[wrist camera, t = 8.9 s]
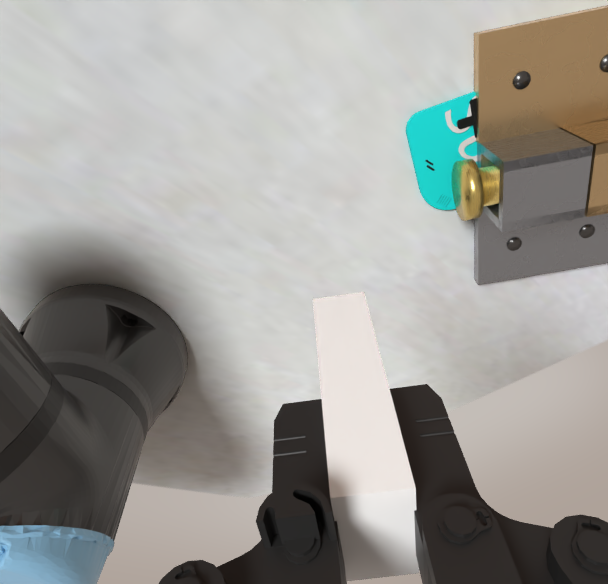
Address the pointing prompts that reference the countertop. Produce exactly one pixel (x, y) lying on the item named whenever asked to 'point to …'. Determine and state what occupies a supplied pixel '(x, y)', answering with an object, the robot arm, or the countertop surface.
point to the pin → (474, 188)
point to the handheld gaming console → (442, 146)
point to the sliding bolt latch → (543, 145)
